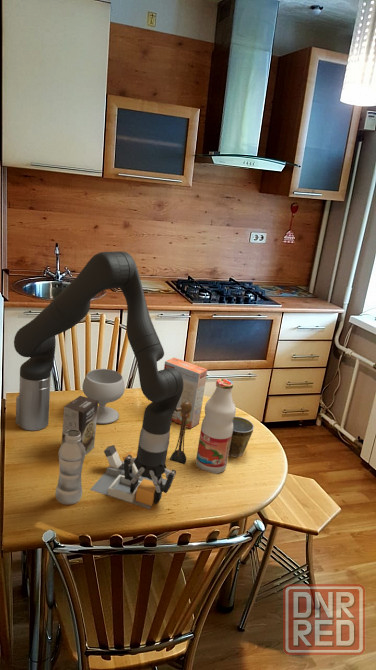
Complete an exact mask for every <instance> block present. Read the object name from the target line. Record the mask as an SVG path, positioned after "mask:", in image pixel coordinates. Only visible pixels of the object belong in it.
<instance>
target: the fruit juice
mask: <svg viewBox="0 0 376 670" xmlns="http://www.w3.org/2000/svg"><path fill="white" fill-rule="evenodd" d="M215 387H216V388H215V389H214V391H213V394H212V395H211V397H210V398H209V399H208V400H207V402H206V403H205V404H204V405H205V406H204V417H203V419H202V422H201V426H200V434H199V439H198V444H197V452H196V457H195V464H196V466H197V468H198V469H200V470H202V471H204V472H209V473H212V474H220V473H221V474H222V472H224V471H225V470H226V467H227V465H228V460H229V459H228V458H229V450H230V444H231V438H232V433H233V419H234V417H236V413H237V406H236V405H235V402H234V399H233V395H232V390H233V387H234V382H233V381H232V380H231V379H227V378H219V379H216V382H215Z"/></svg>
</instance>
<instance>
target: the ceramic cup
mask: <svg viewBox="0 0 376 670" xmlns="http://www.w3.org/2000/svg"><path fill="white" fill-rule="evenodd" d="M254 426H255V425H254V424H253V423H252V422H251V421H250V420H249V419H247V418H244V417H241V416H235V417H234V419H233V433H232V438H231V444H230V450H229V455H228V457H232V458H233V457H234V458H240V457H241V456H243V455H244V453H245V451H246V449H247V446H248V443H249V441H250V439H251V438H252V437H251V436H252V434H253V432H254V429H255V427H254Z"/></svg>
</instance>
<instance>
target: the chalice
mask: <svg viewBox="0 0 376 670" xmlns="http://www.w3.org/2000/svg"><path fill="white" fill-rule="evenodd" d="M125 388H126V386H125V380H124V378H123V375H122V374H121V373H119V372H118V371H116V370H113V369H108V368H96V369H93V370H90V371H89V372H88V373H87V374H86V375H85V377H84V379H83V381H82V388H81V389H82V392H83V394H84V395H85V396H84V397H87V398H91V399H94V400H97V401H98V408H97V420H96V424H102V425H104V424H112V423H114V422H116V421H118V420H119V417H120V413H119V412H118V411H117V410H116V409H114V408H112V407H109V406H106V405H107V404H108V403H113V402H115V401H116V402H117V400H120V399H121V398H122V396H124V393H125Z"/></svg>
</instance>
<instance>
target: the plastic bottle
mask: <svg viewBox="0 0 376 670" xmlns="http://www.w3.org/2000/svg"><path fill="white" fill-rule="evenodd" d="M80 441H81V432H80V431H79V430H75V429H71V430H67V431H66V433H65V442H64V443H63V444H62V443H61V445H60V446H59V448H58V449H59V450H58V462H59V475H58V480H57V481H58V482H57V485H56V489H55V499H56V501H57V502H58V503H60V504H62V505H66V506H68V505H74V504H77V503H79V501H80V500H81V498H82V495H83V486H82V473H83V472H82V471H83V465H84V461H85V457H86V455H85V453H86V451H85V447H84V446H83V444H82V443H81V442H80Z"/></svg>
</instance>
